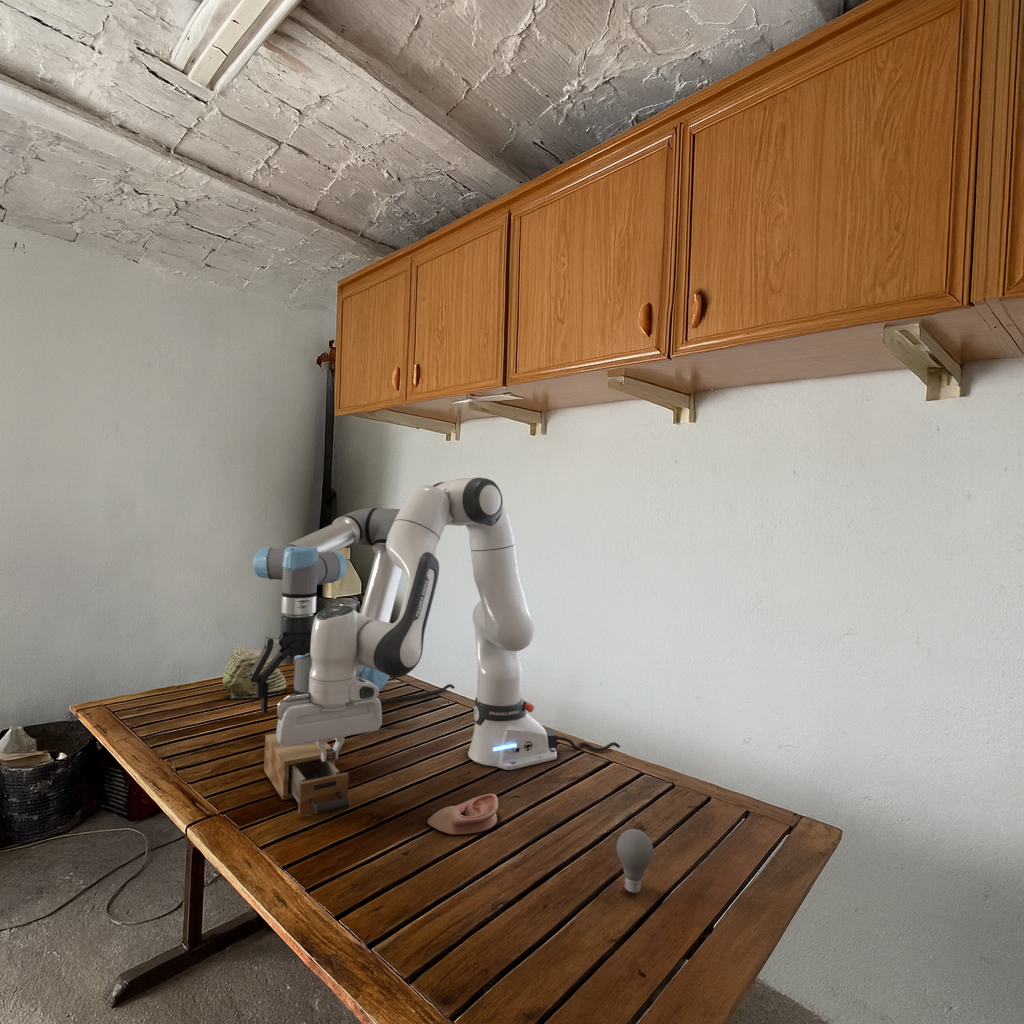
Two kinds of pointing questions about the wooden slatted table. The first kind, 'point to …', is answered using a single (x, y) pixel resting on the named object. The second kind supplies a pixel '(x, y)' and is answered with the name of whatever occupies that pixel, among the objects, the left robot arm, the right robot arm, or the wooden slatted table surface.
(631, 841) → the light bulb
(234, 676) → the fossil
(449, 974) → the wooden slatted table surface
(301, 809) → the drawer
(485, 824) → the anatomical model
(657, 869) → the wooden slatted table surface
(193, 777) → the wooden slatted table surface
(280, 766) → the cabinet
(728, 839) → the wooden slatted table surface
